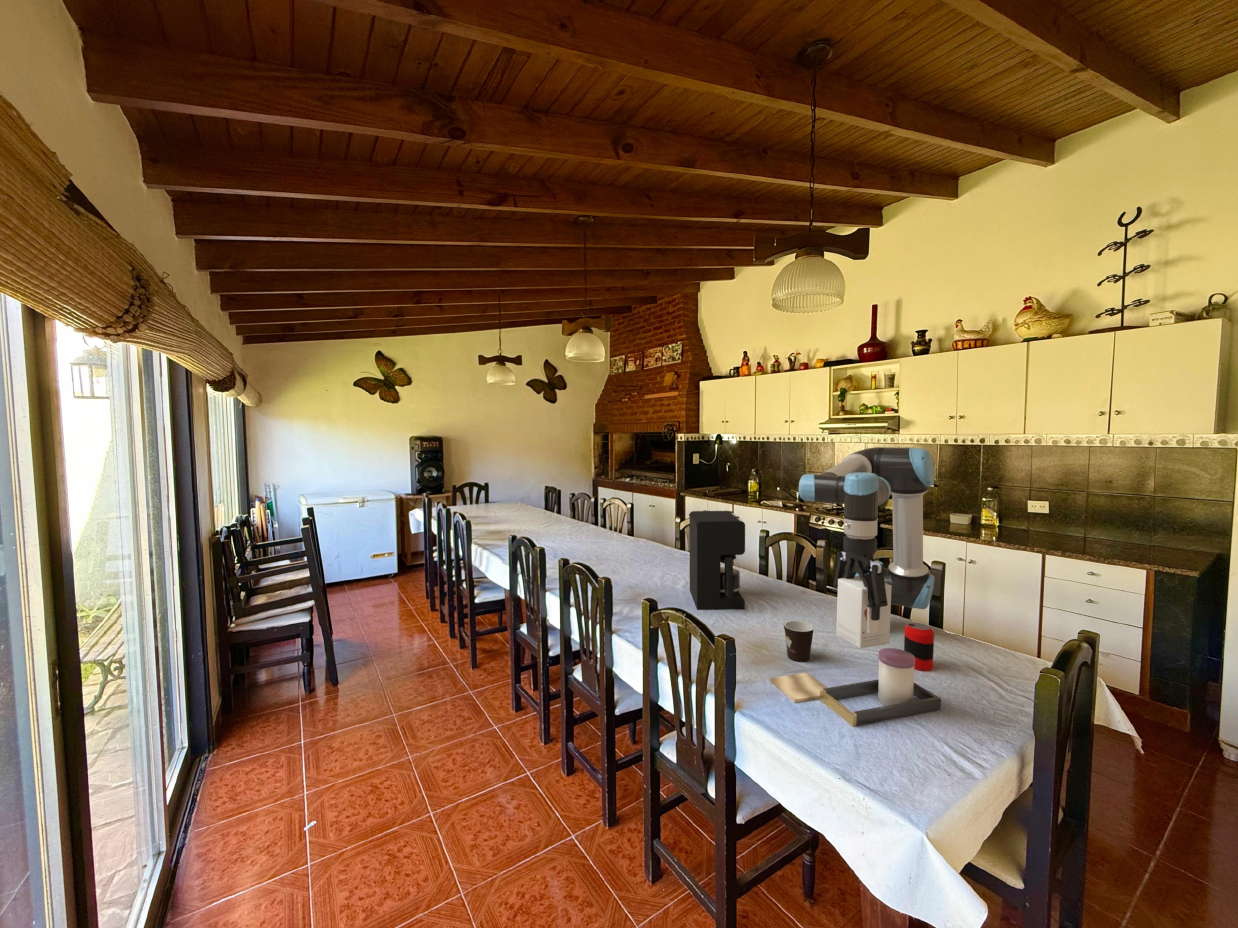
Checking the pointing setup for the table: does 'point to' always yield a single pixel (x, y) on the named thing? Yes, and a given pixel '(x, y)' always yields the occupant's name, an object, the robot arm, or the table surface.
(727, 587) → the coffee maker
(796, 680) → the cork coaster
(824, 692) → the grey tray
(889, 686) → the cream lidded canister
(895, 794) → the table surface
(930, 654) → the soda can
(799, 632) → the coffee mug
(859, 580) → the supplement box
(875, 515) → the robot arm
